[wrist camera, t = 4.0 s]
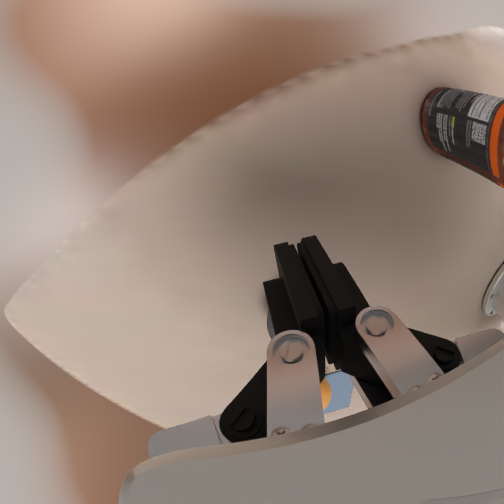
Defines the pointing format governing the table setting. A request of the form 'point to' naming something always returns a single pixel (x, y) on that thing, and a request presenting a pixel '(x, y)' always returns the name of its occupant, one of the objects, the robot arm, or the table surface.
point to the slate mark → (339, 390)
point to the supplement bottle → (467, 130)
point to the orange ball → (325, 393)
